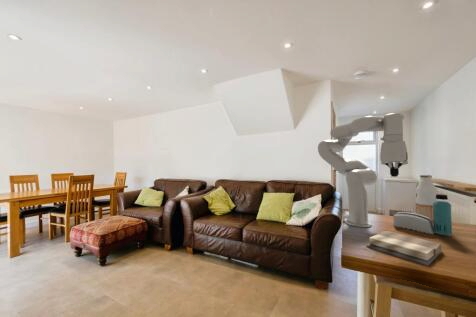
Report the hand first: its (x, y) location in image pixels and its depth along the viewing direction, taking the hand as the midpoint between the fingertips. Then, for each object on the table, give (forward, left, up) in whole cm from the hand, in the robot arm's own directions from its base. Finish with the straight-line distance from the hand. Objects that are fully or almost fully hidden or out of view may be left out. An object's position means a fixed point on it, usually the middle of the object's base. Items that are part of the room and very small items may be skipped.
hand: (394, 176), depth 99 cm
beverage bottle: (+13, +17, -29) cm, 36 cm away
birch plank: (+7, -18, -28) cm, 34 cm away
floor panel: (+7, -15, -29) cm, 33 cm away
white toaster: (+2, +18, -30) cm, 34 cm away
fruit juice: (+4, +32, -29) cm, 44 cm away
